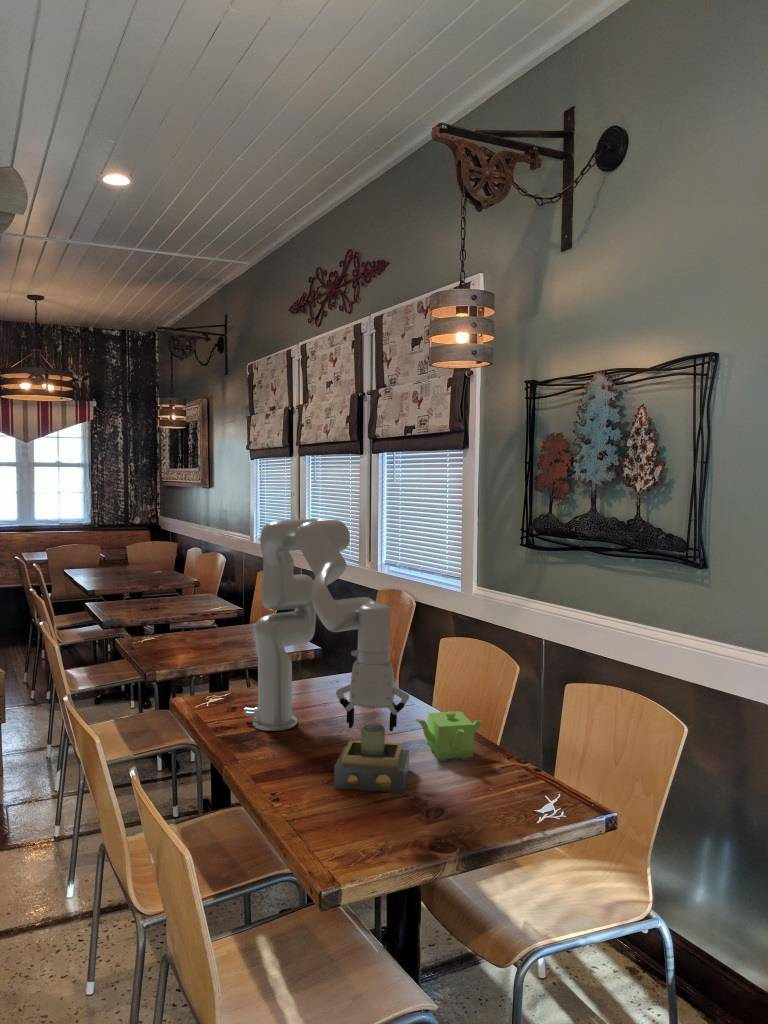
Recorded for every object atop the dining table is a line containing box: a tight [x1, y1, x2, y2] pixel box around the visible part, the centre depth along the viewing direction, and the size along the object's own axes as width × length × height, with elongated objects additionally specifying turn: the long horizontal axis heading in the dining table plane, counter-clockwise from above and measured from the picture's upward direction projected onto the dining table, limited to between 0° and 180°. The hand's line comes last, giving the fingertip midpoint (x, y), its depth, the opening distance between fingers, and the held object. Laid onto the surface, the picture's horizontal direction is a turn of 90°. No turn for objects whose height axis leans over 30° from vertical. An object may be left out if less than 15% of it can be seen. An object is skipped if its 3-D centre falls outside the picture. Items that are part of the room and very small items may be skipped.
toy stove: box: [333, 740, 410, 794], centre depth 177 cm, size 16×14×7 cm
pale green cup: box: [360, 722, 386, 757], centre depth 178 cm, size 6×8×7 cm
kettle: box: [414, 710, 483, 763], centre depth 193 cm, size 15×14×11 cm
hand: (371, 727), depth 178 cm, fingers open, 9 cm apart
